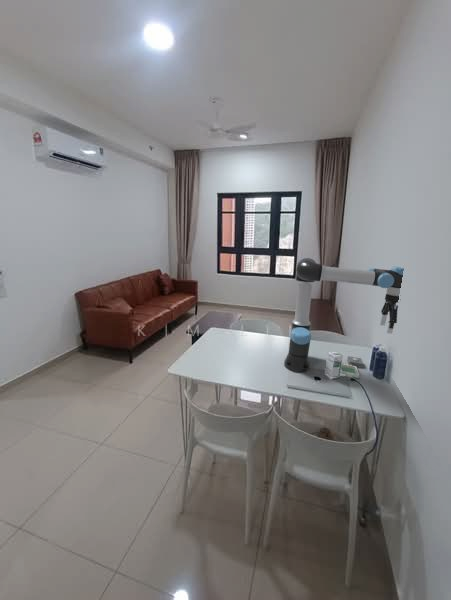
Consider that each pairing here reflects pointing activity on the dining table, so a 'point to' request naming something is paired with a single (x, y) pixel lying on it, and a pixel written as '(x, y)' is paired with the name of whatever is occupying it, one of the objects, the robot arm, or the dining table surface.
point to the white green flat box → (349, 371)
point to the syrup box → (333, 364)
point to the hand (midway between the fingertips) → (385, 329)
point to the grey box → (355, 362)
